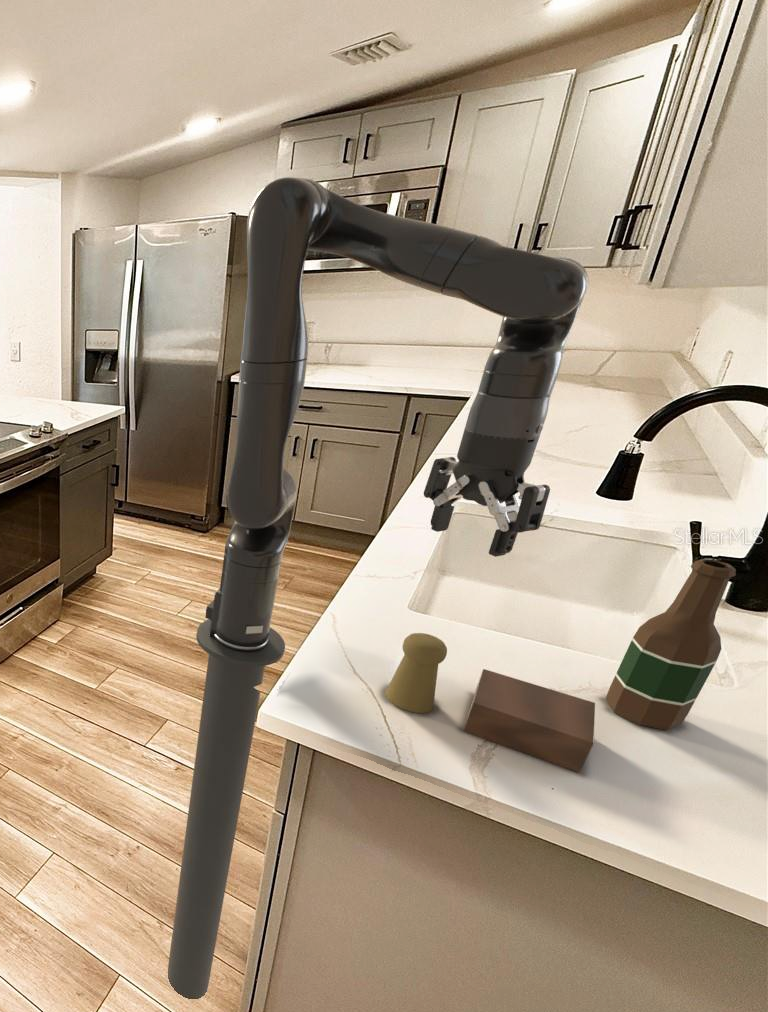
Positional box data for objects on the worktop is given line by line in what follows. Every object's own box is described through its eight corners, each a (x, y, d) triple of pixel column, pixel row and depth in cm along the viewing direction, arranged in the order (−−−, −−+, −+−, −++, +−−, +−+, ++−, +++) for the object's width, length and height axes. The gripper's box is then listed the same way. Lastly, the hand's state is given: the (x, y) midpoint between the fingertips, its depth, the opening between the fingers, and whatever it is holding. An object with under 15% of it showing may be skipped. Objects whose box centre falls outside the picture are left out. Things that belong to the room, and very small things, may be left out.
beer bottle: (679, 740, 83) (764, 584, 73) (600, 712, 88) (669, 564, 78) (683, 712, 87) (763, 562, 77) (607, 688, 93) (673, 545, 83)
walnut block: (463, 731, 86) (473, 702, 84) (473, 695, 93) (483, 668, 91) (579, 773, 78) (593, 743, 76) (581, 731, 85) (595, 702, 83)
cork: (376, 693, 94) (392, 633, 90) (402, 682, 96) (419, 623, 92) (416, 717, 89) (435, 655, 84) (442, 705, 91) (463, 643, 87)
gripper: (428, 418, 84) (400, 526, 91) (537, 445, 71) (495, 568, 78) (473, 413, 85) (442, 520, 92) (588, 438, 73) (542, 560, 79)
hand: (466, 542), depth 85 cm, fingers open, 8 cm apart
